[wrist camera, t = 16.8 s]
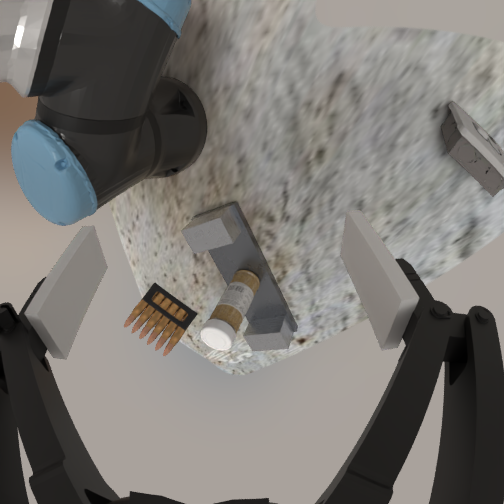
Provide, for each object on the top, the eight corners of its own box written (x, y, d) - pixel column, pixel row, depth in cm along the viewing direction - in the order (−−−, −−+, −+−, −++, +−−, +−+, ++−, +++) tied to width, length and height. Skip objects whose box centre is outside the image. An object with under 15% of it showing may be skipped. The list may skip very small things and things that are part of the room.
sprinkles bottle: (231, 284, 52) (197, 342, 41) (237, 264, 49) (201, 323, 38) (256, 295, 51) (227, 356, 40) (264, 275, 48) (234, 338, 38)
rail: (194, 216, 48) (178, 231, 44) (236, 201, 44) (223, 216, 40) (258, 331, 58) (250, 351, 53) (297, 326, 54) (291, 348, 50)
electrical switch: (500, 147, 27) (528, 174, 21) (478, 174, 31) (501, 207, 24) (450, 99, 27) (472, 113, 20) (428, 129, 31) (444, 151, 24)
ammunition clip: (152, 287, 61) (119, 326, 51) (154, 282, 60) (121, 321, 50) (194, 317, 62) (166, 360, 52) (197, 313, 61) (169, 357, 51)
